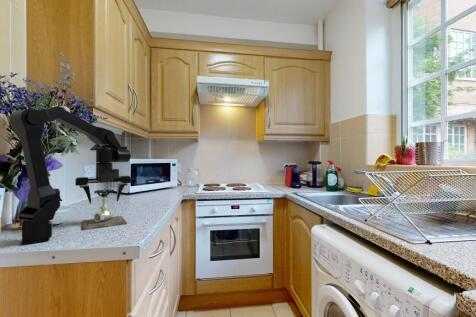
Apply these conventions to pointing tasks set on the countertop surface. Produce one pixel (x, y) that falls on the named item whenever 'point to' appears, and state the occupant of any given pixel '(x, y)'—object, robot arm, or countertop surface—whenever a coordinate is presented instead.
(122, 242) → the countertop surface
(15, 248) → the countertop surface
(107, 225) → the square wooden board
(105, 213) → the valve
